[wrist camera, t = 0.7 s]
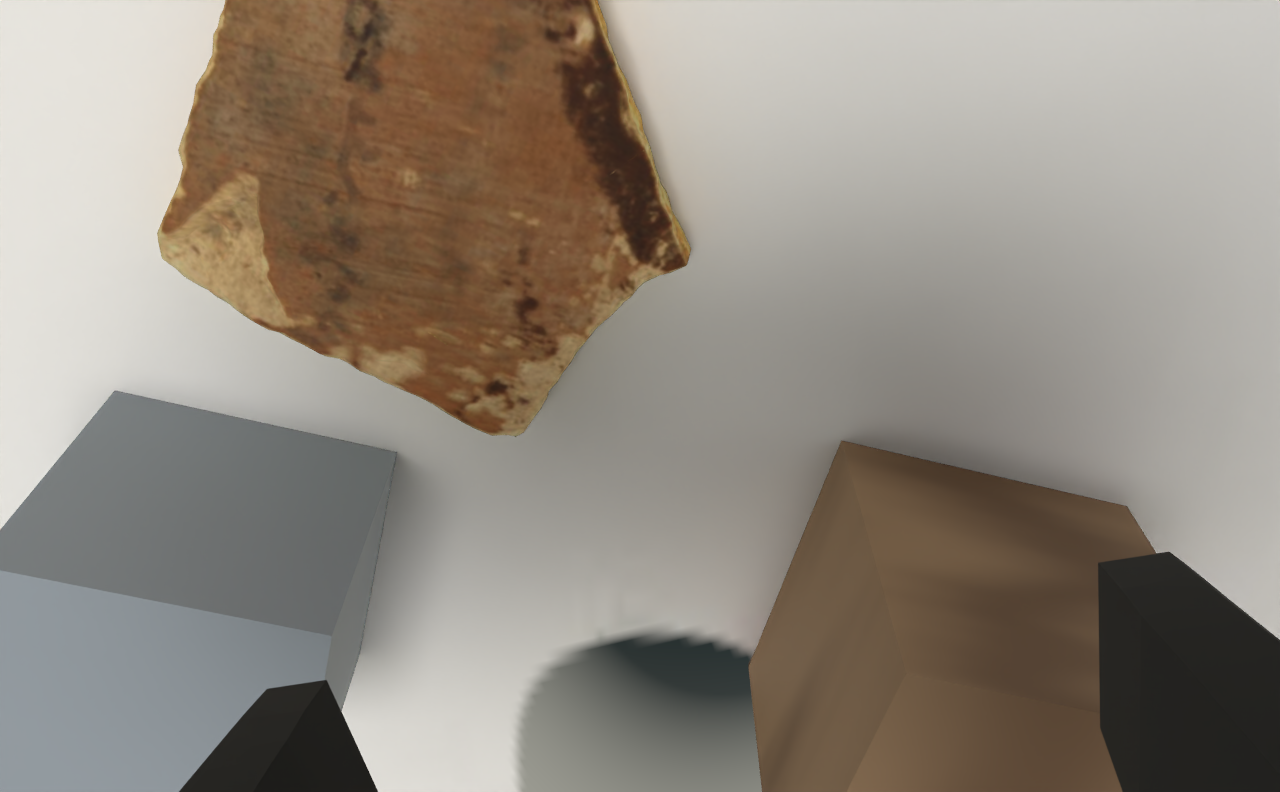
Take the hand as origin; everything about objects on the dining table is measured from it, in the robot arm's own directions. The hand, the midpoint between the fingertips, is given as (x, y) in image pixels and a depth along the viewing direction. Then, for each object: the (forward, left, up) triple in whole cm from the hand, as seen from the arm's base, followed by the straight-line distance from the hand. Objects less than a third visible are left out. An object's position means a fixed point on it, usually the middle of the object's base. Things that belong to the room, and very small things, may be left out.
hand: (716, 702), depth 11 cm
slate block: (+7, +7, -10) cm, 14 cm away
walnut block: (-6, +5, -10) cm, 13 cm away
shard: (+6, -2, -10) cm, 12 cm away
